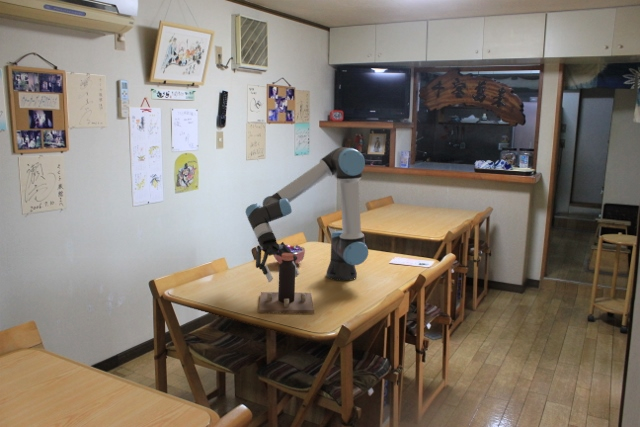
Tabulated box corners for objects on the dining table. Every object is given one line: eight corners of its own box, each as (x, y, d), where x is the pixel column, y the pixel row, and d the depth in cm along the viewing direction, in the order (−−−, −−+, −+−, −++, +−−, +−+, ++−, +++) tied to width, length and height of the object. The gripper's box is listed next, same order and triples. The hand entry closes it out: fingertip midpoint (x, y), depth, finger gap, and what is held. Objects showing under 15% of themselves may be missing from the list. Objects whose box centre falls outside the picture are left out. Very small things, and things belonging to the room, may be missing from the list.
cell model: (312, 263, 292) (312, 242, 290) (290, 271, 275) (291, 249, 273) (286, 258, 301) (287, 238, 299) (264, 265, 284) (265, 244, 282)
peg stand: (310, 296, 237) (311, 286, 236) (313, 313, 215) (314, 302, 214) (260, 295, 235) (260, 285, 234) (258, 313, 213) (258, 302, 212)
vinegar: (288, 304, 220) (289, 257, 217) (274, 301, 224) (276, 254, 220) (297, 300, 226) (298, 253, 223) (284, 296, 229) (285, 251, 226)
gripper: (284, 237, 243) (303, 277, 234) (236, 244, 227) (255, 287, 219) (292, 228, 238) (311, 269, 229) (243, 234, 222) (263, 278, 214)
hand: (284, 278), depth 224 cm, fingers open, 13 cm apart
